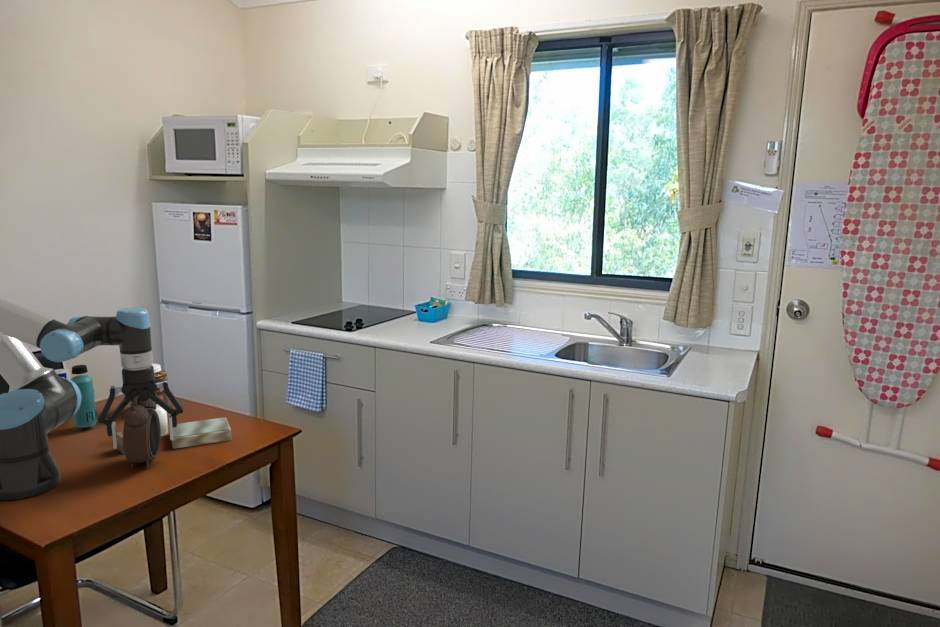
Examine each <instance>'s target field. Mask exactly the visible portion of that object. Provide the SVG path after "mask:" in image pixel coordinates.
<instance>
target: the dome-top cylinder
mask: <svg viewBox="0 0 940 627" xmlns="http://www.w3.org/2000/svg"><path fill="white" fill-rule="evenodd" d="M155 410H156V412H157V414H158V417H159V421H160V427H161V437H164V436H166V435H167V434H169V419H168V412H166V411H165V410H164V409H163V408H162V407H160V406H159V405H158V404H156V409H155Z"/></svg>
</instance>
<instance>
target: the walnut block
mask: <svg viewBox="0 0 940 627" xmlns="http://www.w3.org/2000/svg"><path fill="white" fill-rule="evenodd" d="M116 436H117V448H116V450H117V451H119V452H120V453H121V454H122V455H125V452H124V446H123V430H122V431H118V432H117V431H116Z"/></svg>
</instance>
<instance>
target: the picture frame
mask: <svg viewBox="0 0 940 627" xmlns="http://www.w3.org/2000/svg"><path fill="white" fill-rule="evenodd" d="M232 438H233V436H232V428H231V426H230V424H229V421H228V418H227V417H218V418H217V417H216V418H210V419H202V420H196V421H190V422H182V423H177V427H173V439H174V440H171V446H172V450H174V449H175V450H177V449H181V448H187V447H188V448H189V447H194V446H195V447H196V446H200V445H201V446H202V445H207V444H213V443H221V442H226V441H232V440H233V439H232Z"/></svg>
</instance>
